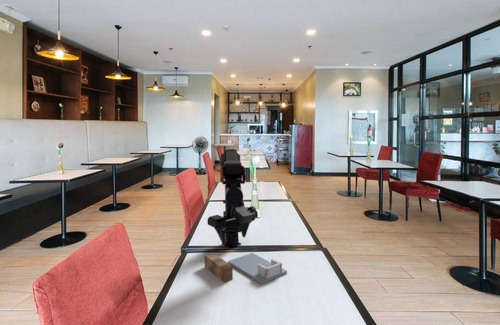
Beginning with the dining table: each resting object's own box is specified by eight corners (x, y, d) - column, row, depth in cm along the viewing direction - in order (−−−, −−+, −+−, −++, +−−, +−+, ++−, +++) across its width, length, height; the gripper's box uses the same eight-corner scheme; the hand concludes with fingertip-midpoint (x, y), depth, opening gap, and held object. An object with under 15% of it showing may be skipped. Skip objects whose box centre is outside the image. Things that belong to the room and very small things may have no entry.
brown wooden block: (204, 267, 118) (204, 254, 117) (213, 265, 120) (212, 252, 119) (224, 282, 106) (223, 268, 106) (232, 279, 108) (232, 266, 108)
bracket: (228, 263, 120) (227, 252, 120) (252, 255, 128) (252, 244, 127) (261, 284, 105) (261, 271, 104) (287, 273, 112) (287, 261, 111)
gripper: (225, 207, 98) (225, 254, 100) (268, 197, 110) (268, 240, 112) (206, 200, 107) (207, 244, 109) (247, 192, 119) (248, 231, 121)
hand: (233, 240), depth 112 cm, fingers open, 9 cm apart
